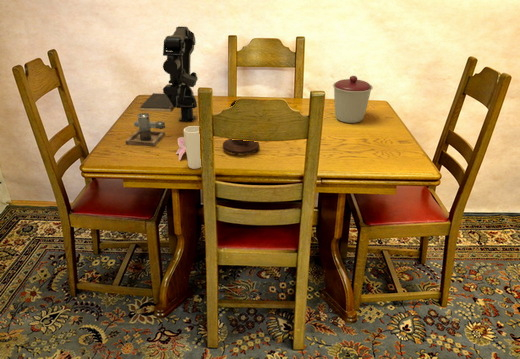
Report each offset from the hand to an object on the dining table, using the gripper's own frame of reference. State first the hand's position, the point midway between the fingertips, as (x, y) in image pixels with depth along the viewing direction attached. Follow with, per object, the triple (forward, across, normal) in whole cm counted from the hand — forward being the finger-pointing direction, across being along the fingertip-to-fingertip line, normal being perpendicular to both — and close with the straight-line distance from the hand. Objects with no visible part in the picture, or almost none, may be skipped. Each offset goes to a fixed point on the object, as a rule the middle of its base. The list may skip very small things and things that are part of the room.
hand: (178, 103), depth 196 cm
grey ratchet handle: (+13, +4, +17) cm, 22 cm away
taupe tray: (+14, -11, +12) cm, 21 cm away
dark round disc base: (+13, -14, -30) cm, 36 cm away
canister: (+13, +30, -74) cm, 81 cm away
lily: (+13, -23, -10) cm, 28 cm away
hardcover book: (+14, +36, +22) cm, 45 cm away
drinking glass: (+13, -32, -16) cm, 38 cm away
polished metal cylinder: (+13, -11, +12) cm, 21 cm away
